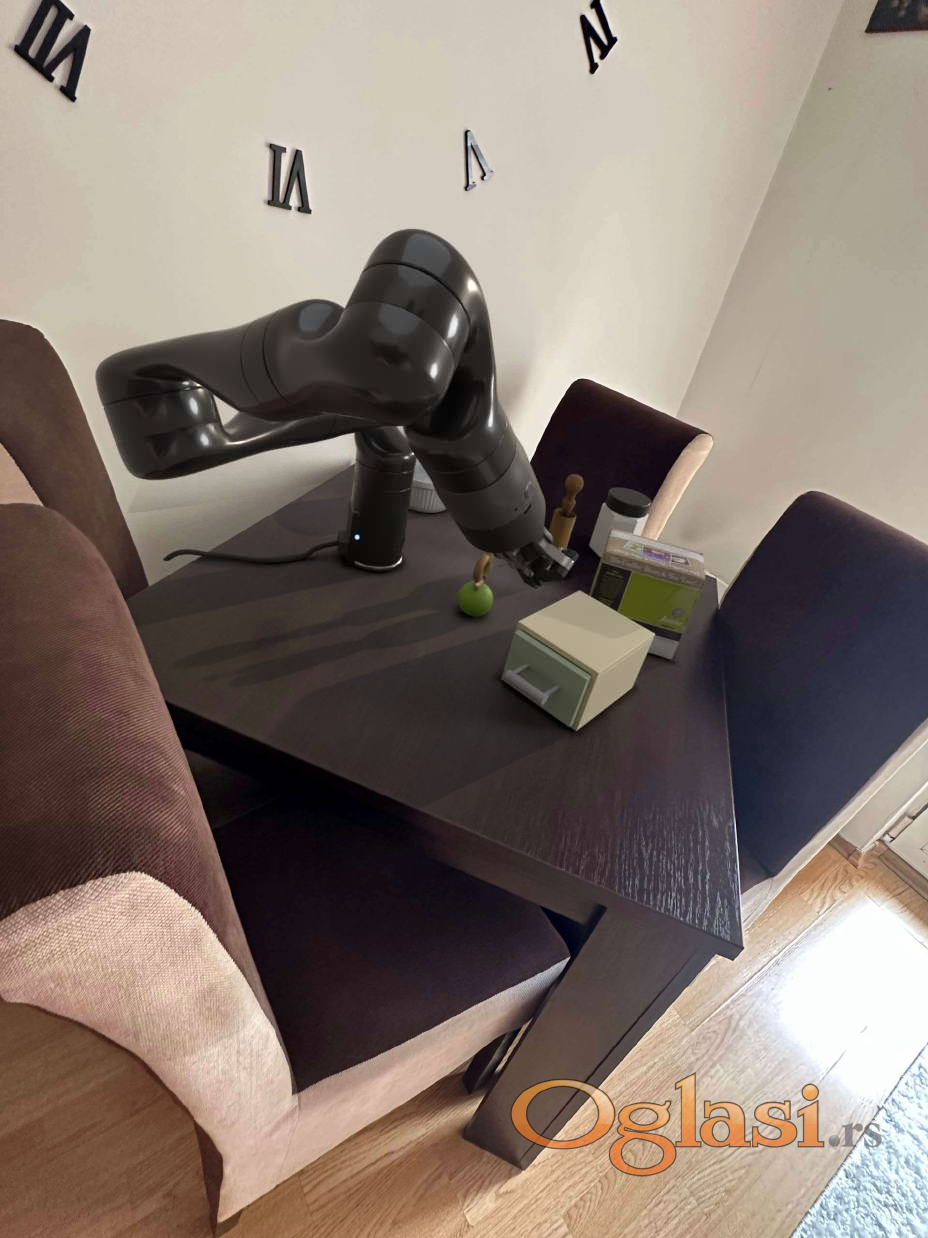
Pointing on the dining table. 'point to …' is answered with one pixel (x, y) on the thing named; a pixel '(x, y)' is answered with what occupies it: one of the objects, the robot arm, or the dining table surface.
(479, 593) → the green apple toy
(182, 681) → the dining table surface
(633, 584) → the tea box
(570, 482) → the mortar and pestle
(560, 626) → the cabinet
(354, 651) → the dining table surface
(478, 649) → the dining table surface
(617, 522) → the jar
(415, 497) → the ramekin
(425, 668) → the dining table surface
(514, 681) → the drawer
